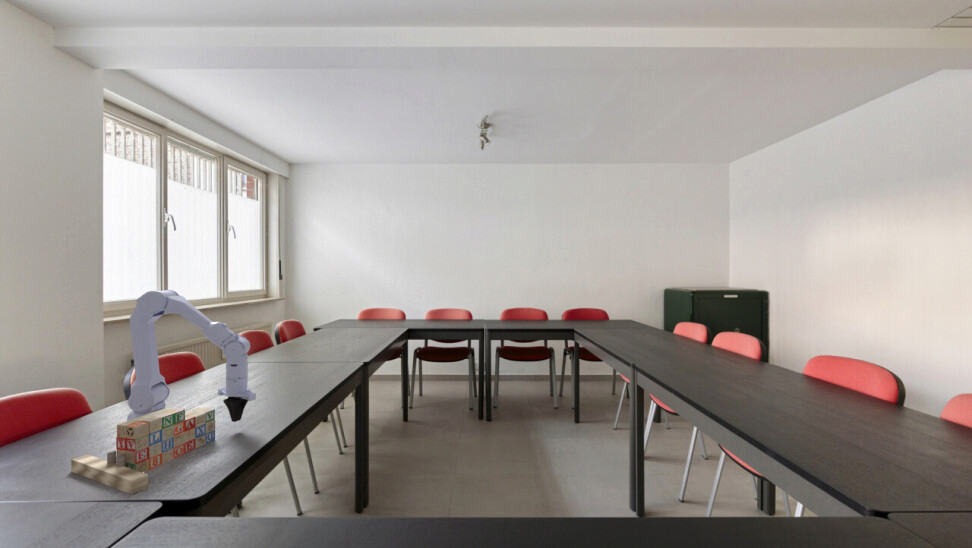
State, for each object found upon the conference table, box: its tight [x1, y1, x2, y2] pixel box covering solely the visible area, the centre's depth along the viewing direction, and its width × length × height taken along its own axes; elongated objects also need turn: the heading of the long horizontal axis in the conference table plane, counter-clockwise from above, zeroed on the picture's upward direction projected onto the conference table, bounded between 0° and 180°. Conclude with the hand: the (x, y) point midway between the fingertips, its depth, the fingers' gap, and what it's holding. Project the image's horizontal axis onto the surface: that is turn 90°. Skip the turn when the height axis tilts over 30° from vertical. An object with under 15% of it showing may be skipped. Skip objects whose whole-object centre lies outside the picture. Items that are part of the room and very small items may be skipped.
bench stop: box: [70, 450, 149, 495], centre depth 93 cm, size 26×4×6 cm, turn 68°
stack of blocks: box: [115, 407, 216, 473], centre depth 105 cm, size 21×6×12 cm, turn 167°
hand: (236, 420), depth 121 cm, fingers closed
